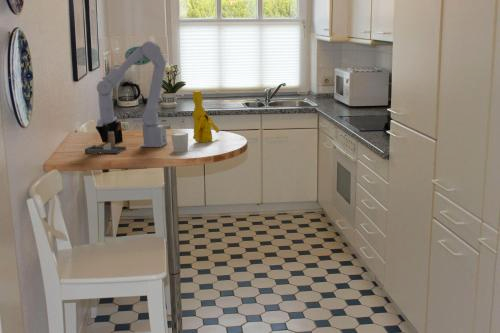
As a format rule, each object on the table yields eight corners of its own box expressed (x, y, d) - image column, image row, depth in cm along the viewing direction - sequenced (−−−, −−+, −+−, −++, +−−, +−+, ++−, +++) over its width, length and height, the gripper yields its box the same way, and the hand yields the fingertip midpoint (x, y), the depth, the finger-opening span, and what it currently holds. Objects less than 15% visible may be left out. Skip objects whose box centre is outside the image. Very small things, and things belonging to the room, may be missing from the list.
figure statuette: (197, 145, 267) (194, 93, 263) (183, 144, 272) (180, 93, 267) (223, 138, 281) (220, 89, 277) (209, 137, 286) (206, 88, 281)
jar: (117, 147, 273) (115, 131, 271) (112, 149, 269) (110, 132, 267) (108, 147, 274) (106, 131, 273) (103, 149, 270) (101, 132, 269)
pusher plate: (111, 150, 266) (110, 143, 265) (105, 152, 261) (104, 145, 260) (110, 150, 266) (109, 143, 265) (103, 152, 261) (103, 145, 260)
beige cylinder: (182, 152, 254) (181, 135, 253) (169, 151, 258) (167, 134, 256) (192, 149, 260) (191, 132, 258) (179, 148, 263) (178, 131, 262)
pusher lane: (126, 150, 265) (125, 145, 265) (117, 153, 258) (117, 149, 257) (94, 149, 269) (93, 145, 269) (85, 153, 262) (84, 148, 261)
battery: (115, 143, 282) (113, 121, 280) (106, 142, 287) (104, 120, 285) (123, 141, 285) (121, 119, 283) (114, 140, 290) (112, 118, 288)
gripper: (106, 106, 276) (108, 137, 279) (89, 111, 262) (92, 143, 265) (120, 106, 274) (123, 137, 277) (104, 111, 260) (107, 143, 263)
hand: (109, 140), depth 271 cm, fingers open, 7 cm apart
